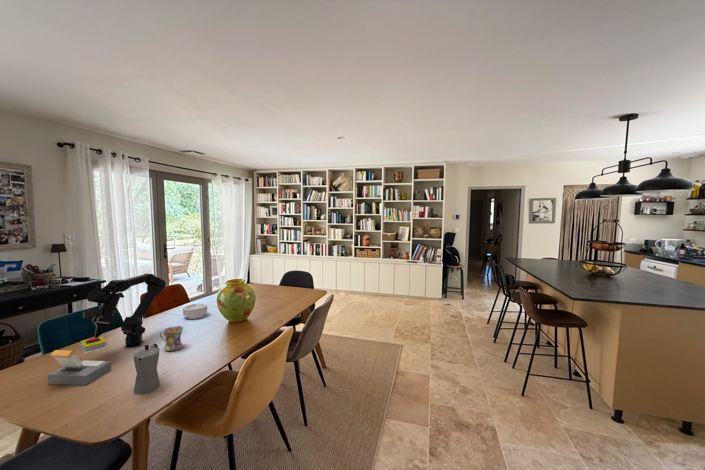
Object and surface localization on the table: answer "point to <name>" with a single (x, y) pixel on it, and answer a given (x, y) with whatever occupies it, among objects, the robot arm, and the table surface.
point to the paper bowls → (195, 311)
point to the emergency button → (93, 344)
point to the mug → (172, 338)
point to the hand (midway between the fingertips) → (96, 338)
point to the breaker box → (80, 373)
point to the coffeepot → (146, 369)
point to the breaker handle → (67, 359)
